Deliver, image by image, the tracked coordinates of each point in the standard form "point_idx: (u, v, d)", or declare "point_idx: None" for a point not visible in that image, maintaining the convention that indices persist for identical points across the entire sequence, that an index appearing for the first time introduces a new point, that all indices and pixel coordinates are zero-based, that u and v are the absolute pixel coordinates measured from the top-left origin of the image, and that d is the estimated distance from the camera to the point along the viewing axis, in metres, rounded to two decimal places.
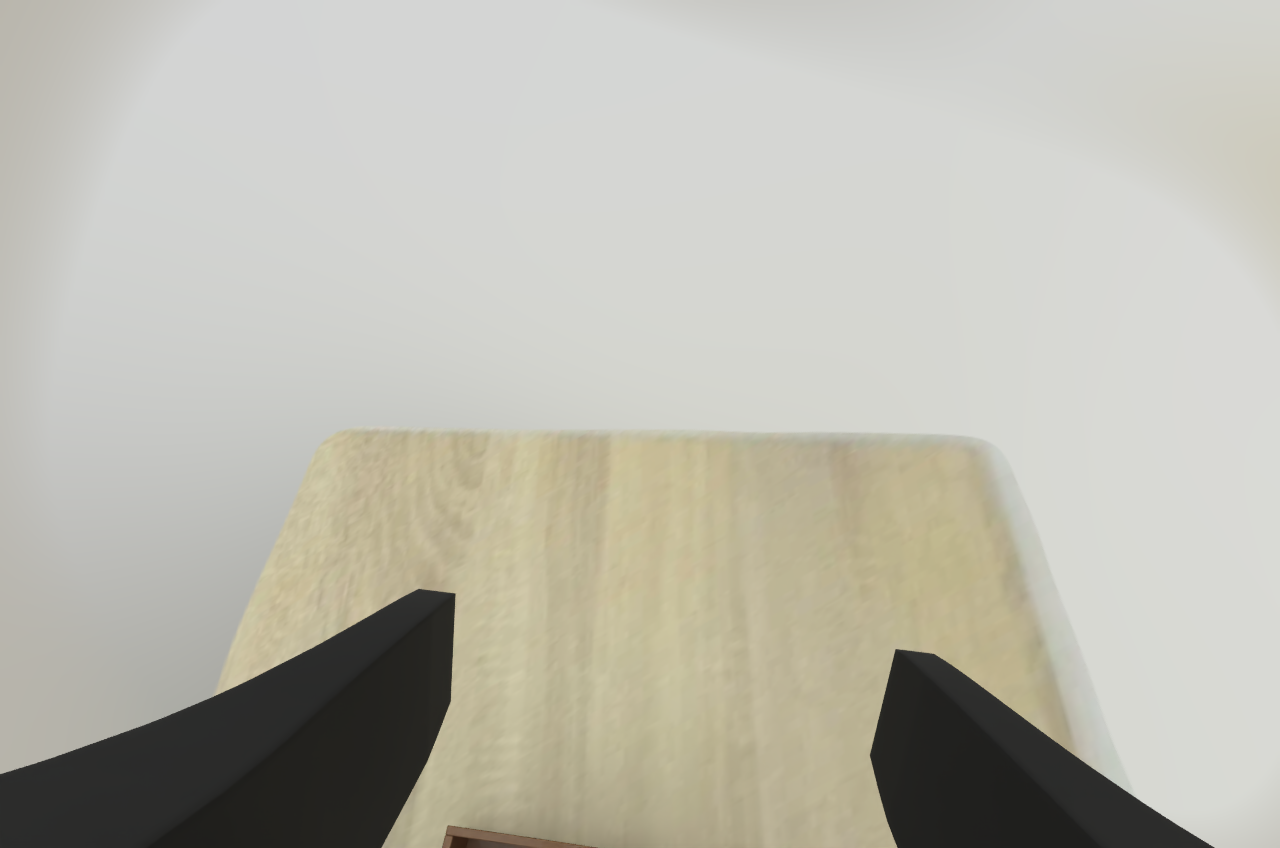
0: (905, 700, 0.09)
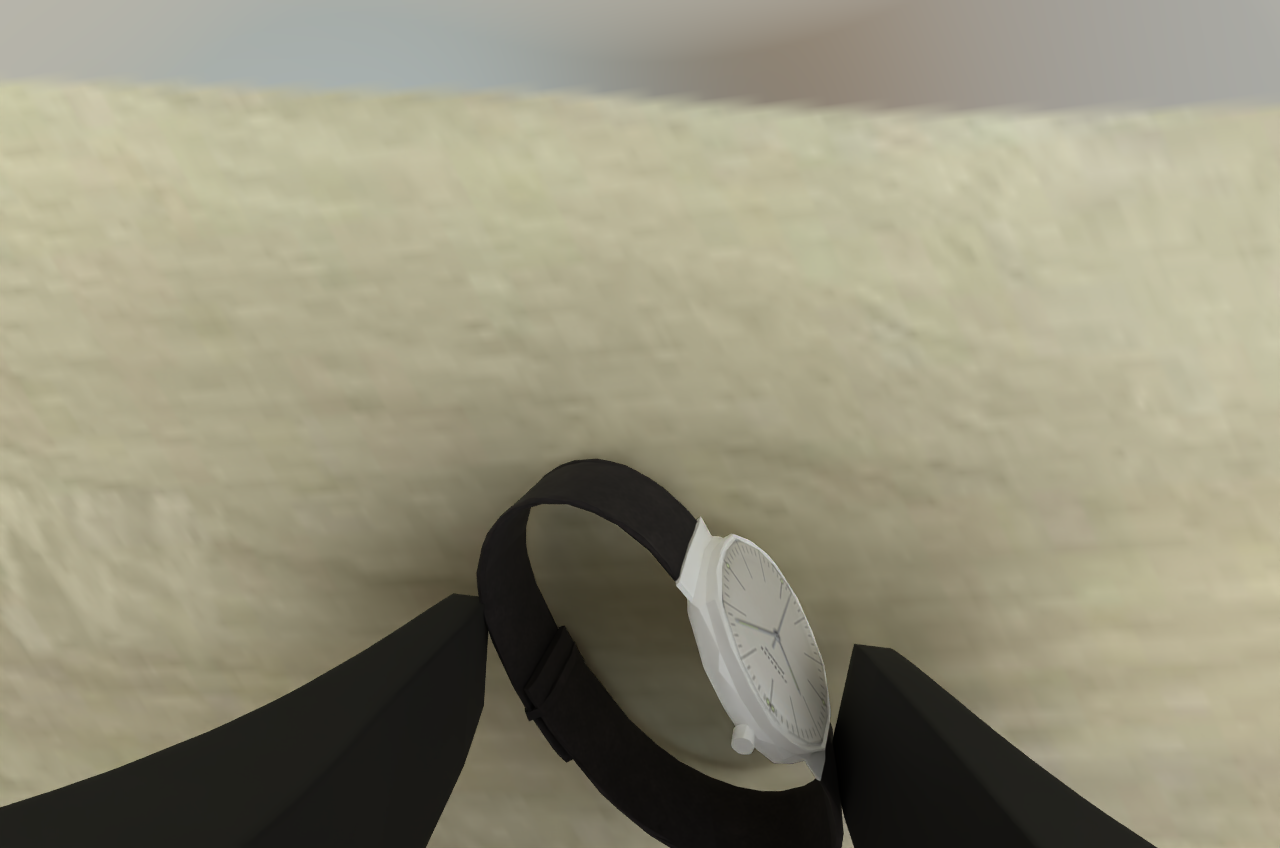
0: (861, 694, 0.09)
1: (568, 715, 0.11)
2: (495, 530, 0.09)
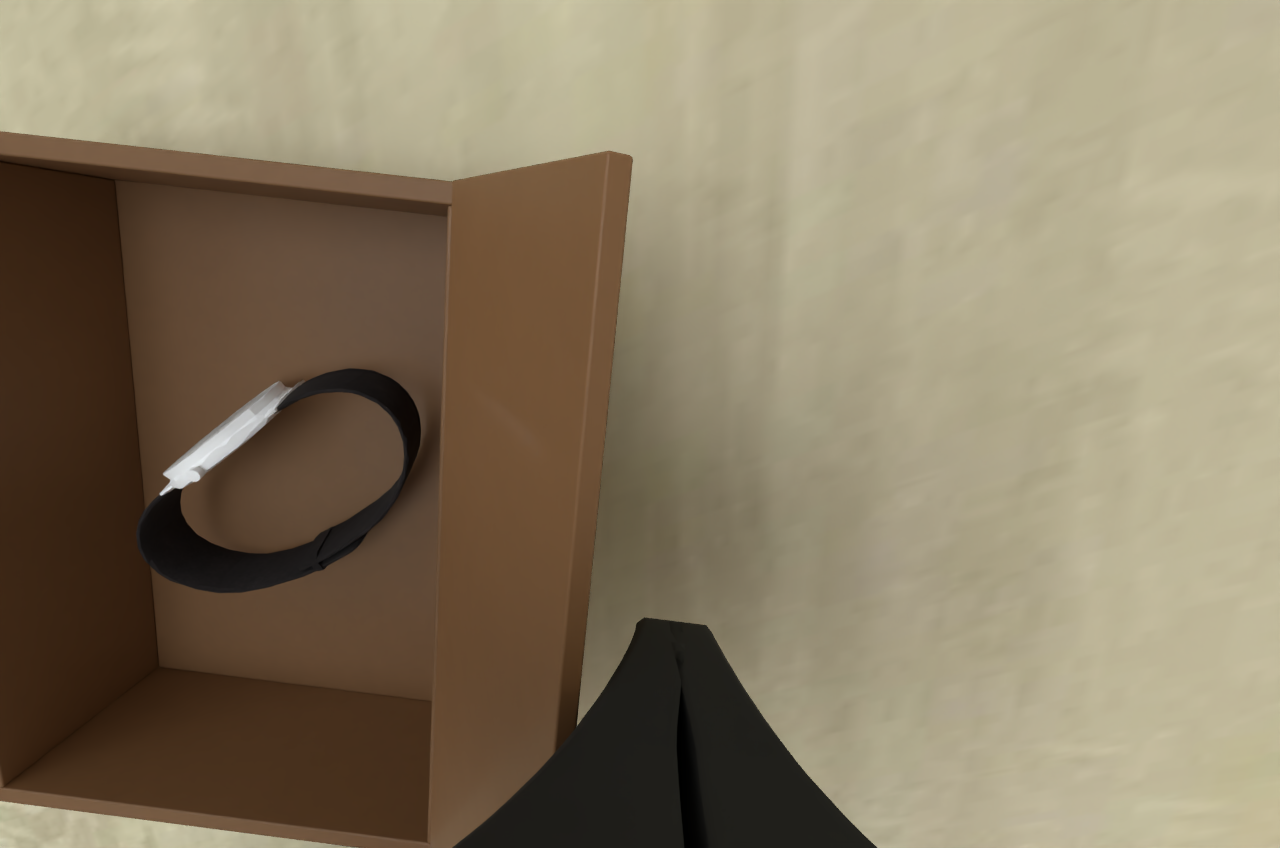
0: None
1: (333, 542, 0.16)
2: (179, 582, 0.16)
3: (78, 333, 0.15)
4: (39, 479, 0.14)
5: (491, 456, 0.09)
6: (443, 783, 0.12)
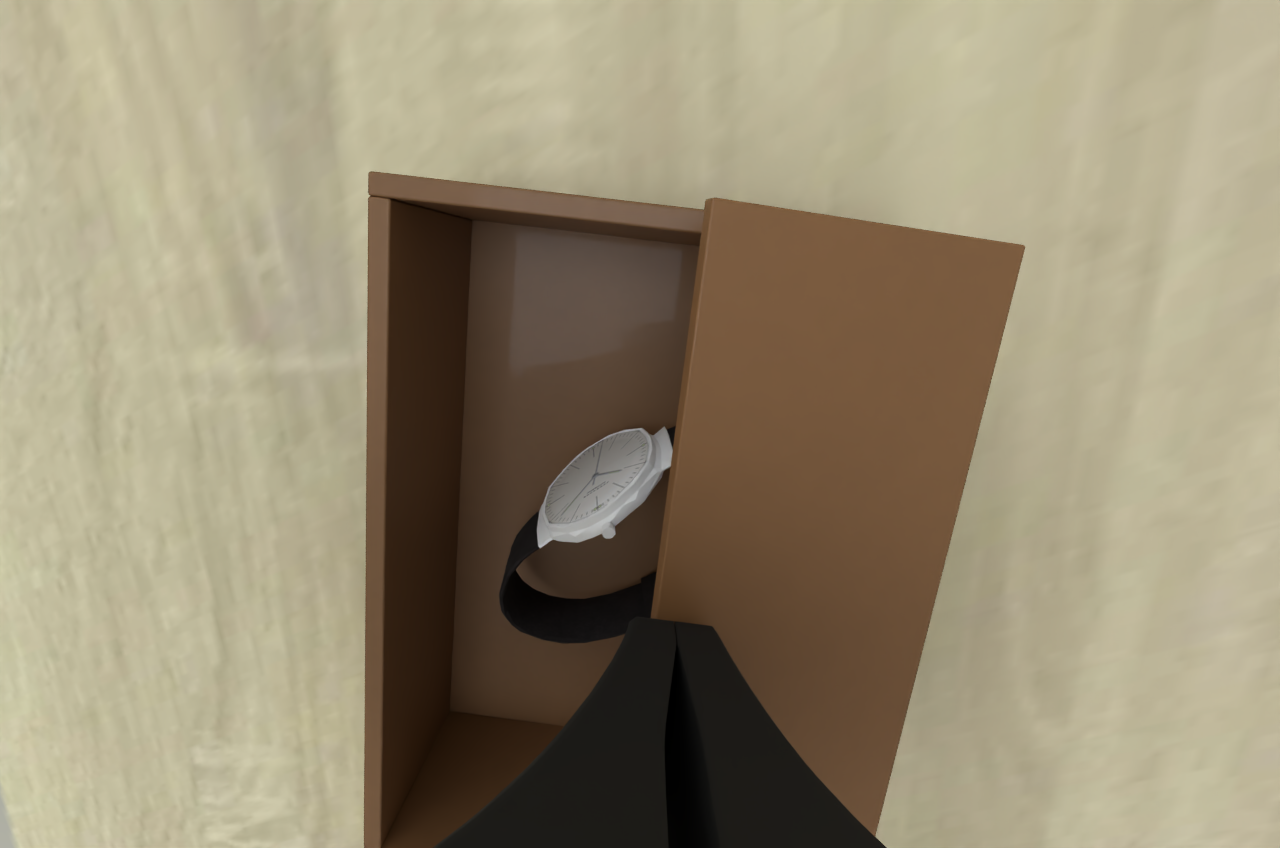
0: None
1: None
2: (529, 633, 0.15)
3: (446, 379, 0.15)
4: (419, 532, 0.14)
5: None
6: None
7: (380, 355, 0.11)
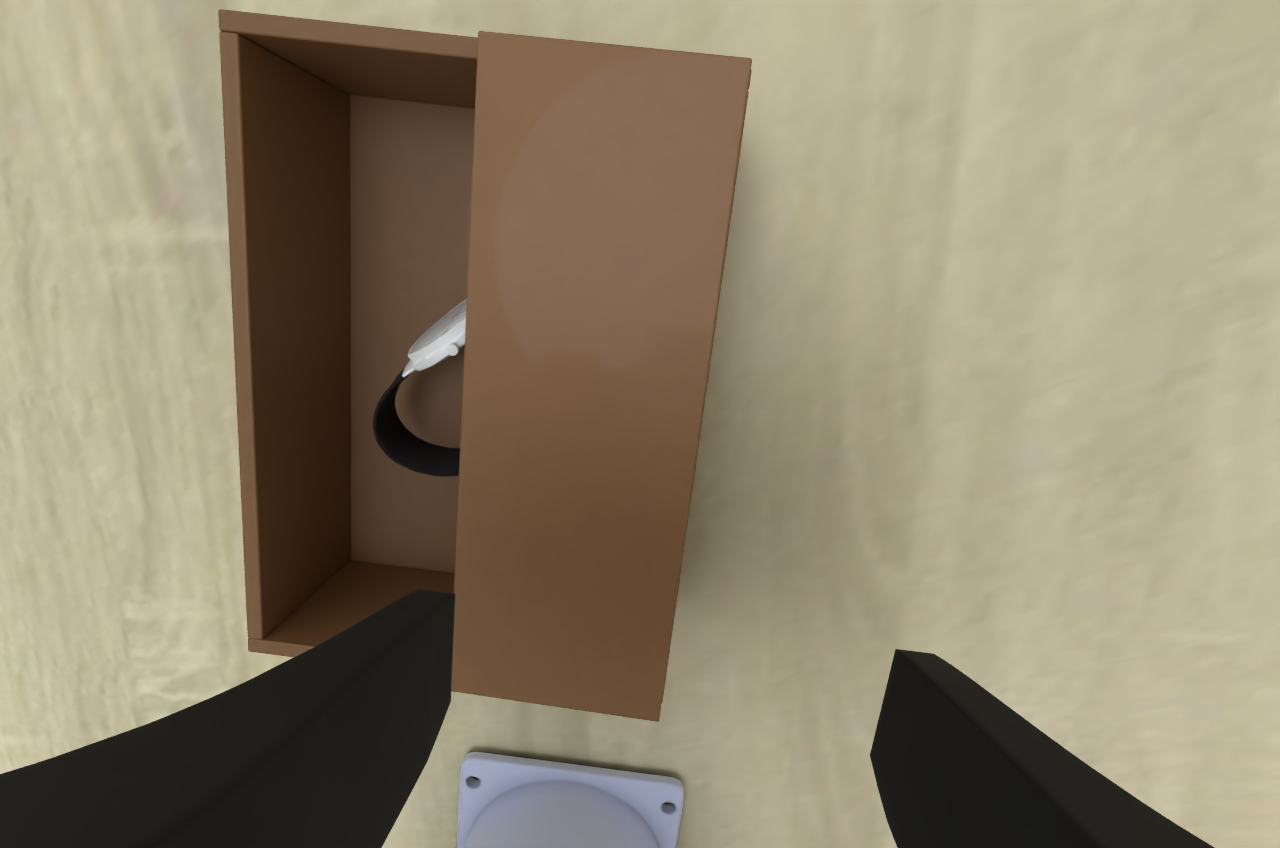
0: (905, 700, 0.09)
1: None
2: (403, 465, 0.17)
3: (323, 231, 0.17)
4: (296, 361, 0.16)
5: None
6: (641, 582, 0.15)
7: (237, 175, 0.13)
